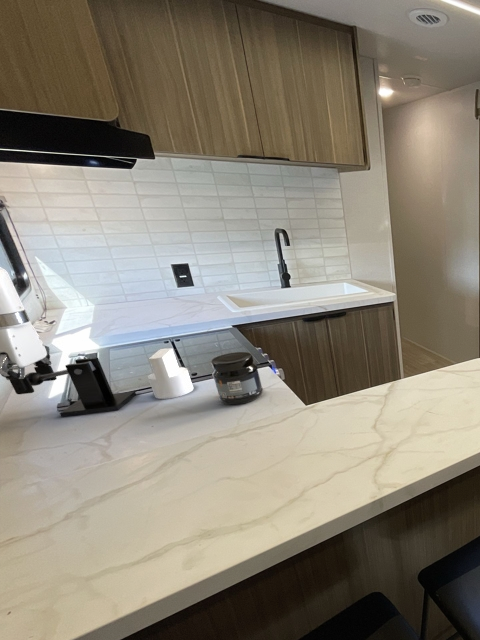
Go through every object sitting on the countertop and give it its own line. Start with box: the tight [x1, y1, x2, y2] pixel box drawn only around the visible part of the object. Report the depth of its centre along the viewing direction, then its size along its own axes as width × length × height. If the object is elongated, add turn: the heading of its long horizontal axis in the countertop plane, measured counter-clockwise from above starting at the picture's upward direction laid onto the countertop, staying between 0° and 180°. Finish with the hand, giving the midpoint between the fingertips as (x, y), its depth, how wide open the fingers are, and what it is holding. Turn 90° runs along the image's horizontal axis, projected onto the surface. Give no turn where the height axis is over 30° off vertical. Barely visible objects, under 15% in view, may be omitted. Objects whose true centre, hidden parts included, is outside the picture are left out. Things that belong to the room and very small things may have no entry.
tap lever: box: [25, 361, 95, 387], centre depth 103 cm, size 14×3×3 cm, turn 108°
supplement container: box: [210, 351, 264, 406], centre depth 110 cm, size 10×10×12 cm
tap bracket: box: [59, 356, 137, 418], centre depth 106 cm, size 12×10×13 cm
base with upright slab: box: [147, 347, 194, 400], centre depth 114 cm, size 9×9×12 cm
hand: (37, 386), depth 103 cm, fingers open, 7 cm apart
